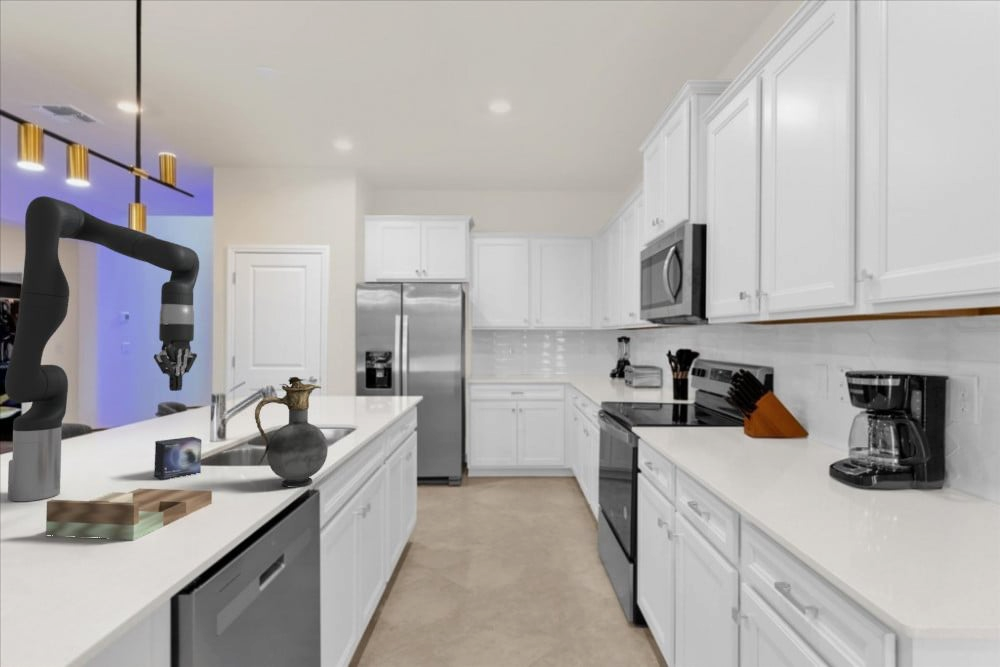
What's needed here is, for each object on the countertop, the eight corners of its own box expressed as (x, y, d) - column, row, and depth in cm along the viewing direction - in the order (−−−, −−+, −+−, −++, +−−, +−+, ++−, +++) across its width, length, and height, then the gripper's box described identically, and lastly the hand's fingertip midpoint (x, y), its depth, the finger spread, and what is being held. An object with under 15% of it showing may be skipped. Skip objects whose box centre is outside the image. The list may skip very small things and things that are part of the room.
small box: (162, 480, 147) (162, 443, 147) (153, 477, 151) (153, 441, 151) (201, 473, 155) (202, 438, 156) (192, 470, 159) (192, 436, 160)
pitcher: (331, 484, 145) (333, 376, 145) (257, 495, 134) (259, 378, 134) (320, 475, 154) (321, 374, 154) (249, 485, 143) (251, 376, 143)
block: (88, 520, 106) (88, 500, 106) (112, 510, 112) (113, 492, 112) (108, 521, 105) (109, 501, 105) (132, 511, 111) (132, 492, 111)
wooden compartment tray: (45, 536, 105) (46, 501, 105) (139, 500, 129) (139, 472, 129) (133, 540, 103) (134, 504, 103) (211, 503, 127) (212, 474, 127)
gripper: (181, 323, 140) (180, 388, 139) (143, 321, 127) (141, 392, 126) (207, 323, 139) (206, 388, 139) (172, 321, 126) (170, 393, 126)
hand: (175, 390), depth 133 cm, fingers closed
